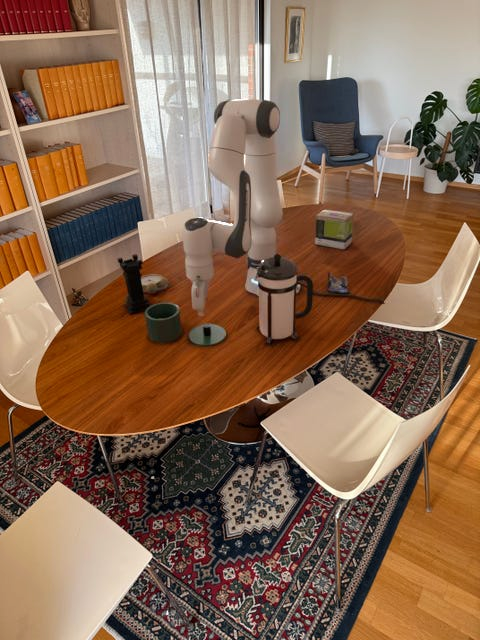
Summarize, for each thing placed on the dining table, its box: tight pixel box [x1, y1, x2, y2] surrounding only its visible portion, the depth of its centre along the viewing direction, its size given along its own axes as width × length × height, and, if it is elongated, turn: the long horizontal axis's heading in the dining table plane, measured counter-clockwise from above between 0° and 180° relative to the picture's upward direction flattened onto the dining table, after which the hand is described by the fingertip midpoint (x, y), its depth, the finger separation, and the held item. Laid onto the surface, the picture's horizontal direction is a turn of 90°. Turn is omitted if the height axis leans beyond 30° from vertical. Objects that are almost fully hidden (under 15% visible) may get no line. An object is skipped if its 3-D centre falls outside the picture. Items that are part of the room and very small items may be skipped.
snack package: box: [326, 271, 350, 294], centre depth 185 cm, size 12×6×12 cm
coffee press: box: [254, 253, 314, 346], centre depth 153 cm, size 17×16×30 cm
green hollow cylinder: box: [144, 302, 183, 344], centre depth 161 cm, size 12×12×10 cm
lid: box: [188, 323, 227, 347], centre depth 160 cm, size 13×13×5 cm
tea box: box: [314, 209, 355, 250], centre depth 220 cm, size 15×10×15 cm, turn 58°
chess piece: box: [116, 253, 151, 315], centre depth 175 cm, size 8×8×20 cm
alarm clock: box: [141, 273, 169, 295], centre depth 192 cm, size 11×5×15 cm
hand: (202, 307), depth 155 cm, fingers open, 8 cm apart
